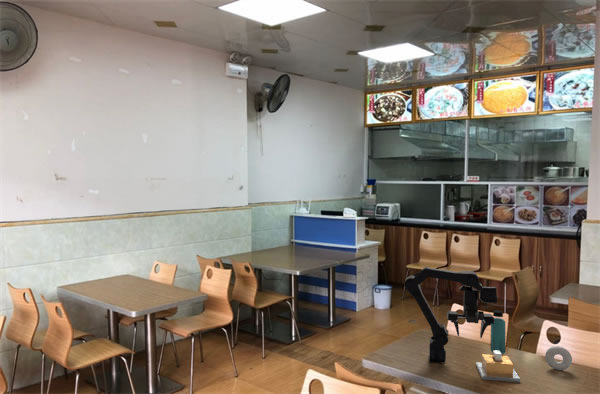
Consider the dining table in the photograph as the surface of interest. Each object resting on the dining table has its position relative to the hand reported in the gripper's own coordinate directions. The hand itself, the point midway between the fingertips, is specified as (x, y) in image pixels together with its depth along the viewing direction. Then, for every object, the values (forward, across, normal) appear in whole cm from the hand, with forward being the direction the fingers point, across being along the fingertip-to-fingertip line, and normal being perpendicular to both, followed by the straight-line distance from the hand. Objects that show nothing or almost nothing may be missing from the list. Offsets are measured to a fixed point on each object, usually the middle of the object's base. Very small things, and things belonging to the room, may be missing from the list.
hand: (469, 336), depth 198 cm
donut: (+11, +36, +1) cm, 37 cm away
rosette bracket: (+12, +10, -8) cm, 17 cm away
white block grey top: (+12, +10, -8) cm, 17 cm away
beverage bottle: (+12, +14, +14) cm, 23 cm away
